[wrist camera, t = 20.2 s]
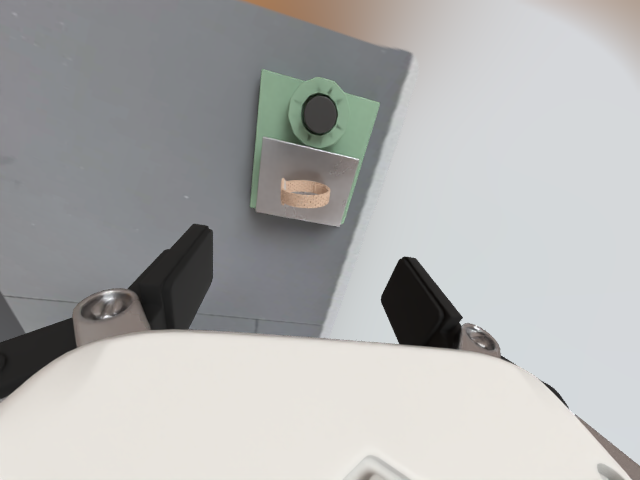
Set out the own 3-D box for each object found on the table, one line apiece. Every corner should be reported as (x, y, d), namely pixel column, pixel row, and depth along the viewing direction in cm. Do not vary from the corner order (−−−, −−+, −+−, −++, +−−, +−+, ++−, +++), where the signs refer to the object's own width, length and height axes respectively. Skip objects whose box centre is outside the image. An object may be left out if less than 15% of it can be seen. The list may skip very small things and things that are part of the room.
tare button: (307, 93, 21) (307, 91, 20) (337, 101, 22) (340, 100, 20) (301, 128, 22) (301, 129, 21) (330, 135, 23) (332, 136, 22)
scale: (264, 65, 22) (259, 59, 19) (377, 98, 24) (387, 96, 21) (251, 203, 29) (246, 212, 26) (341, 219, 31) (345, 229, 28)
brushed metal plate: (263, 135, 22) (262, 136, 22) (358, 158, 24) (359, 159, 23) (256, 210, 26) (255, 212, 25) (338, 224, 28) (339, 227, 27)
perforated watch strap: (283, 172, 24) (279, 185, 19) (328, 176, 24) (334, 189, 20) (282, 197, 25) (279, 214, 20) (325, 199, 25) (330, 217, 21)
